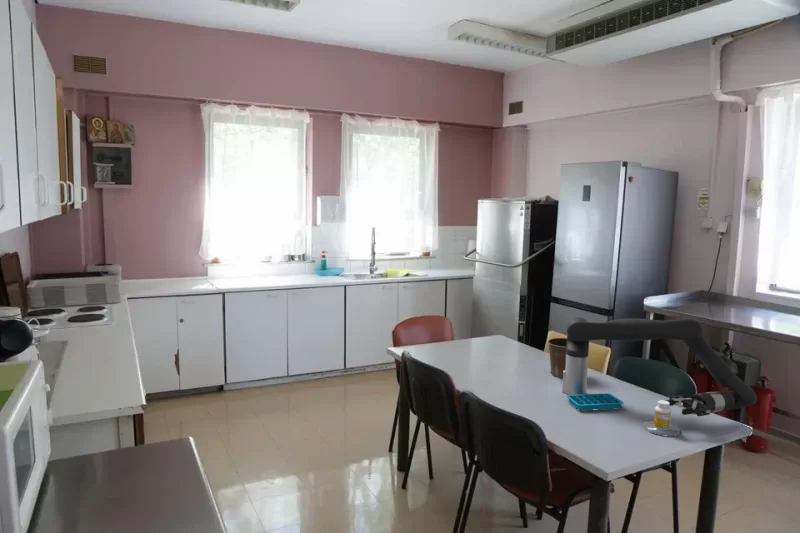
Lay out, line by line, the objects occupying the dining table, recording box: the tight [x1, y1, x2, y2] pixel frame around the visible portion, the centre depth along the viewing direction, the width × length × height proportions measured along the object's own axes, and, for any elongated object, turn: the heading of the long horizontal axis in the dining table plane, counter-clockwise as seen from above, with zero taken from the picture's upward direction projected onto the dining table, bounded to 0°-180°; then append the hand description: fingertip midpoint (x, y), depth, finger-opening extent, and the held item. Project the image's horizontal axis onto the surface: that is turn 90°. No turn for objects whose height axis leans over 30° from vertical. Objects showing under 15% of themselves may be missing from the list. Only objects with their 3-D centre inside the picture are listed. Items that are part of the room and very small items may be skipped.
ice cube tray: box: [566, 392, 625, 411], centre depth 224 cm, size 12×20×3 cm, turn 99°
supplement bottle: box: [653, 399, 672, 430], centre depth 201 cm, size 5×5×10 cm
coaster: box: [643, 420, 681, 437], centre depth 201 cm, size 12×12×1 cm
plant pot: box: [547, 337, 567, 379], centre depth 262 cm, size 16×16×16 cm
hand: (673, 407), depth 201 cm, fingers open, 8 cm apart
